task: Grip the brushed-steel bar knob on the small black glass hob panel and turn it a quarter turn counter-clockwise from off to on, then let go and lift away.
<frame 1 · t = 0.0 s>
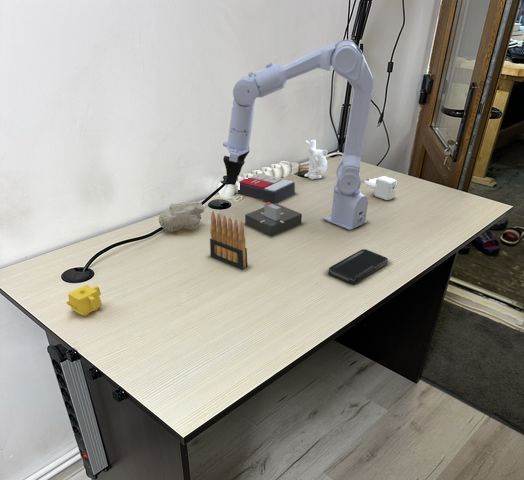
hand: (233, 179, 138), 11 cm above the table, tool pointing down, fingers open, 7 cm apart
phone: (358, 268, 121), on the table
white animal figurine: (314, 178, 170), on the table
red and grey box: (265, 193, 158), on the table
power adapter: (376, 195, 158), on the table
hob panel: (273, 224, 140), on the table
ammunition clip: (228, 262, 123), on the table
fossil replica: (182, 229, 138), on the table
knob: (272, 211, 135), point 5 cm above the table, hinge at 0.0°
yellow knobbed block: (88, 312, 106), on the table
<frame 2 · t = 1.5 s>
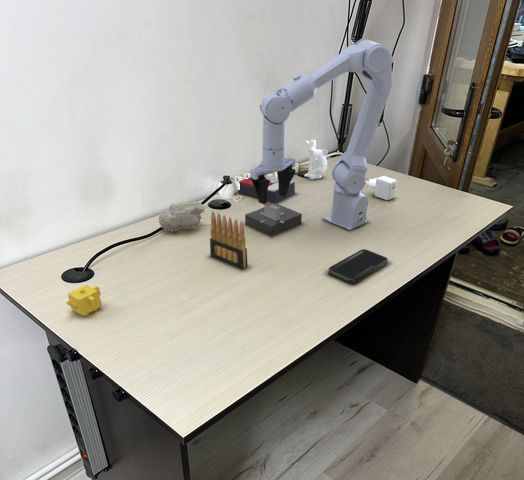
hand: (272, 199, 133), 8 cm above the table, tool pointing down, fingers open, 7 cm apart
nothing on the table moved.
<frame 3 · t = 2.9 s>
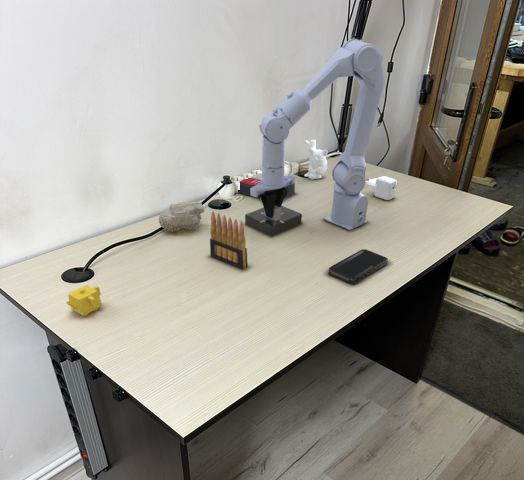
hand: (272, 215, 136), 4 cm above the table, tool pointing down, fingers closed on knob, 2 cm apart
knob: (272, 211, 135), point 5 cm above the table, hinge at -0.1°, touching gripper
everything else where it was.
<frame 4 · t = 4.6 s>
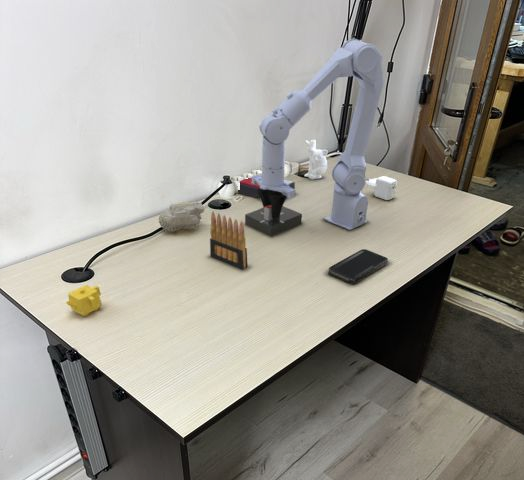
hand: (272, 216, 136), 4 cm above the table, tool pointing down, fingers closed
knob: (272, 211, 135), point 5 cm above the table, hinge at 89.3°
everything else where it was.
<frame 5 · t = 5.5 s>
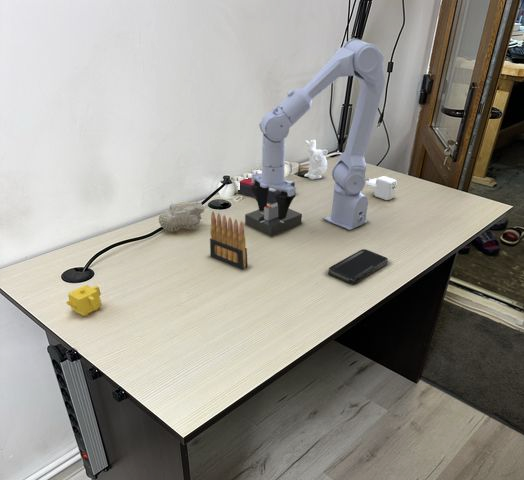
hand: (272, 214, 136), 4 cm above the table, tool pointing down, fingers open, 7 cm apart
nothing on the table moved.
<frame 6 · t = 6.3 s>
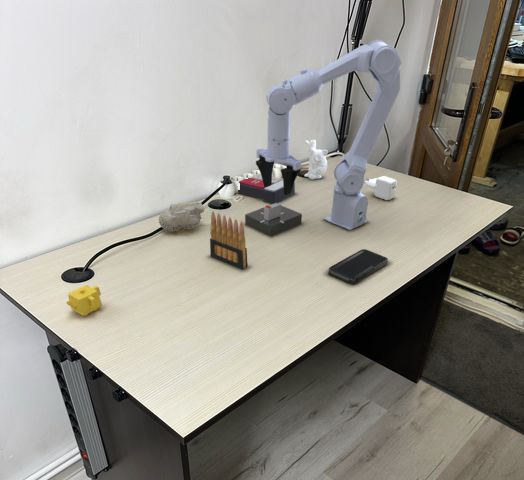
hand: (277, 190, 135), 9 cm above the table, tool pointing down, fingers open, 7 cm apart
nothing on the table moved.
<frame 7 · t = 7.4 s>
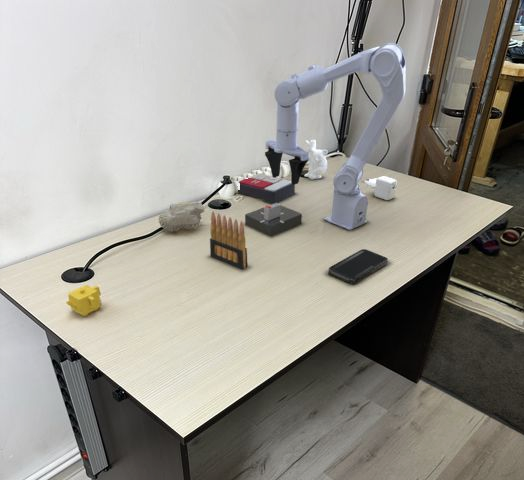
hand: (285, 180, 141), 9 cm above the table, tool pointing down, fingers open, 7 cm apart
nothing on the table moved.
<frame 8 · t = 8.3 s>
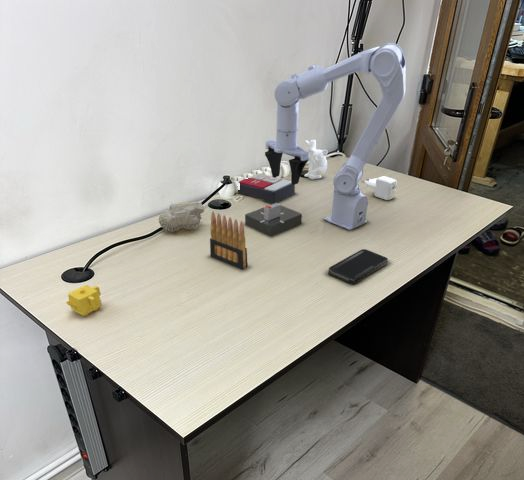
hand: (285, 180, 141), 9 cm above the table, tool pointing down, fingers open, 7 cm apart
nothing on the table moved.
at the end: knob at +89° (first picture: +0°) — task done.
